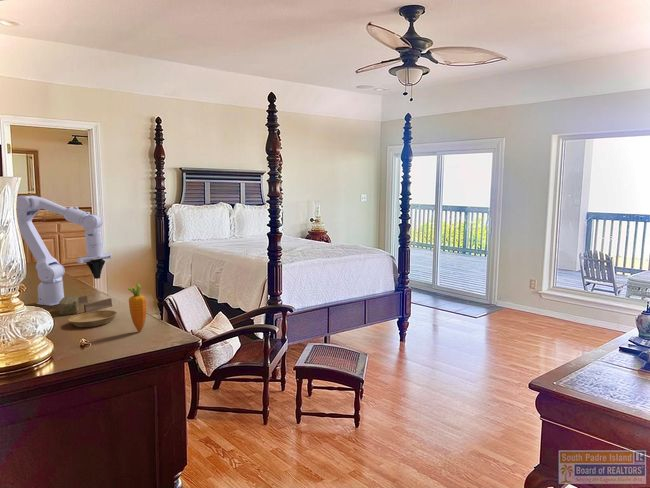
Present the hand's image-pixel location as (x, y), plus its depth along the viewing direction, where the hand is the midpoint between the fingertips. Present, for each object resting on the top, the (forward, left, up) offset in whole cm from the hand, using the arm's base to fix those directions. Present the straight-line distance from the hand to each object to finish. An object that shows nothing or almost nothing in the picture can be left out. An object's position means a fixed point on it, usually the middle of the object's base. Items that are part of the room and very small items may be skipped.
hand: (97, 278), depth 191 cm
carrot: (+51, -25, -10) cm, 58 cm away
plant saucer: (+27, -23, -10) cm, 37 cm away
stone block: (+5, -16, -10) cm, 19 cm away
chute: (+5, -10, -9) cm, 14 cm away
